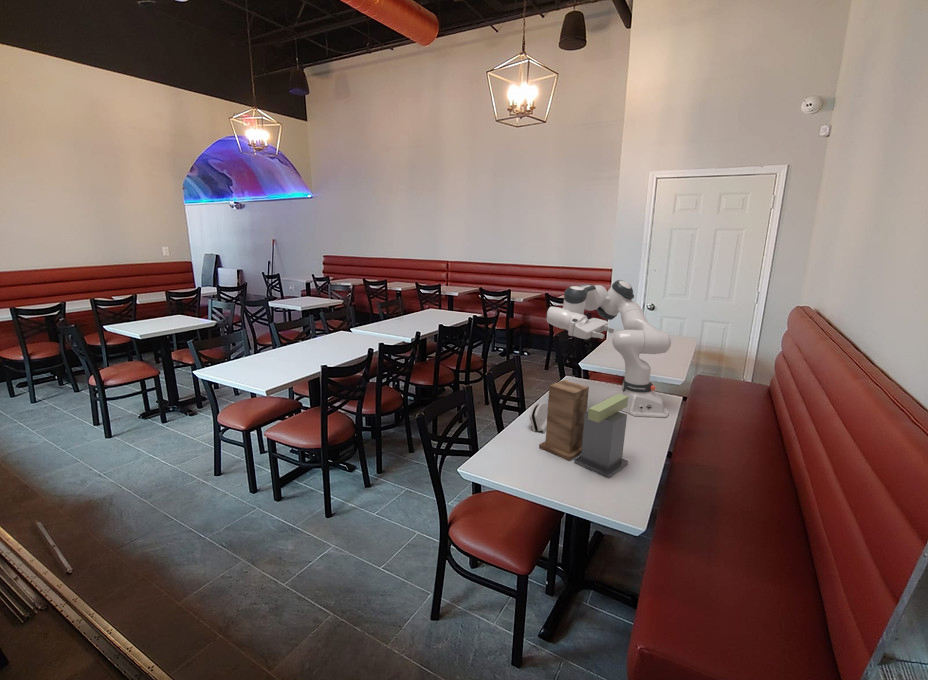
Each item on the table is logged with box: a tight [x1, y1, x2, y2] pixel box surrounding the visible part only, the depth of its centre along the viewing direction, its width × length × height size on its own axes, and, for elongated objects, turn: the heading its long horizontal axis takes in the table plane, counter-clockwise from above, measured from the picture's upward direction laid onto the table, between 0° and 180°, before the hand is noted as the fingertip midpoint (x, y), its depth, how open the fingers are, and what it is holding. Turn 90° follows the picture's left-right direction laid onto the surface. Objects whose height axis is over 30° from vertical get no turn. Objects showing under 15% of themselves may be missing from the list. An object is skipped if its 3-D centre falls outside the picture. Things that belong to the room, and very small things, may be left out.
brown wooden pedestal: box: [538, 379, 590, 462], centre depth 173 cm, size 14×14×26 cm
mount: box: [573, 410, 629, 479], centre depth 162 cm, size 14×14×20 cm
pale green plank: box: [588, 393, 628, 423], centre depth 161 cm, size 21×4×4 cm, turn 134°
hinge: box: [529, 402, 548, 435], centre depth 196 cm, size 17×5×10 cm, turn 155°
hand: (608, 333), depth 187 cm, fingers open, 8 cm apart
